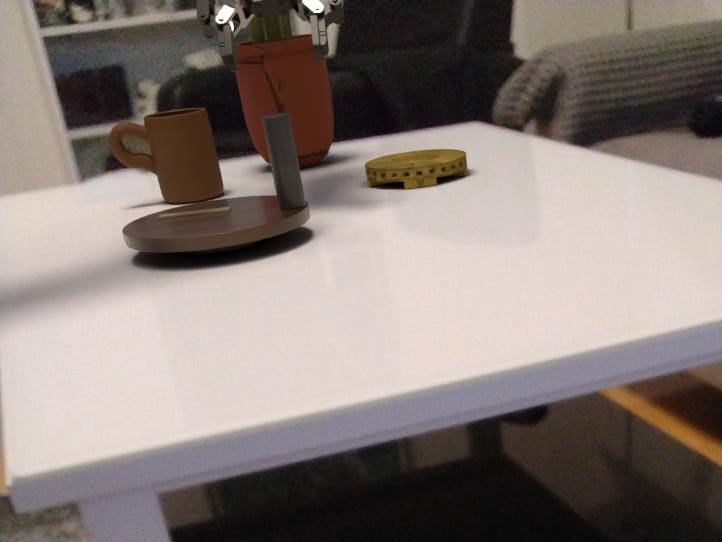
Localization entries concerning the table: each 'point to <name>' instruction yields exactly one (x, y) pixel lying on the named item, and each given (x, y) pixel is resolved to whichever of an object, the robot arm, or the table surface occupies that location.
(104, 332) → the table surface
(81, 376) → the table surface
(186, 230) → the stand with round base
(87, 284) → the table surface
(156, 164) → the mug
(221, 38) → the robot arm
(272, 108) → the potted plant
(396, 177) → the yellow flat disc
